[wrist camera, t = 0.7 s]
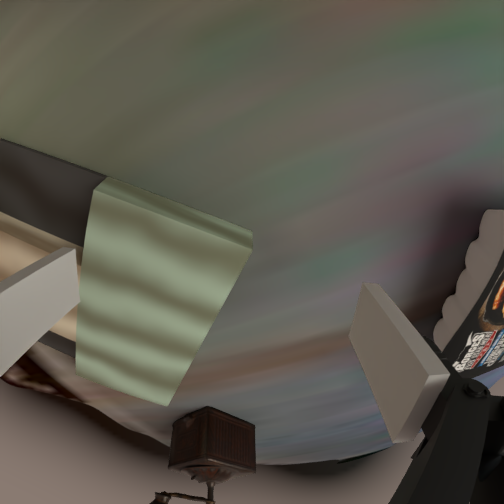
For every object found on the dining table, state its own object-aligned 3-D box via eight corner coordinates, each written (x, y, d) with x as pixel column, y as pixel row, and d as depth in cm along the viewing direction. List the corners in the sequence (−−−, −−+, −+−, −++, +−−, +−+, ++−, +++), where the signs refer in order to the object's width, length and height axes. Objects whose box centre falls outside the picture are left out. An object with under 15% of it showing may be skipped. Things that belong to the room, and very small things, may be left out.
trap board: (-65, 116, 18) (-82, 123, 15) (252, 231, 28) (252, 249, 25) (-49, 289, 32) (-58, 300, 29) (170, 389, 41) (167, 406, 39)
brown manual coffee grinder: (205, 403, 43) (198, 513, 28) (256, 424, 48) (259, 521, 33) (154, 427, 49) (141, 514, 34) (201, 445, 54) (196, 525, 38)
